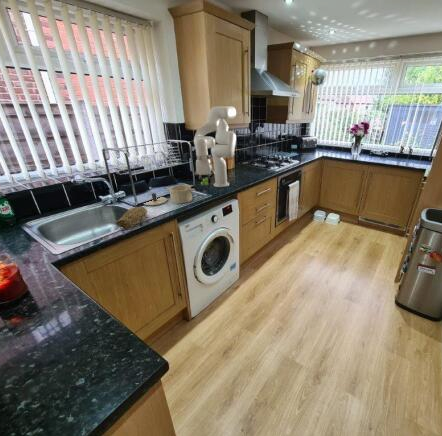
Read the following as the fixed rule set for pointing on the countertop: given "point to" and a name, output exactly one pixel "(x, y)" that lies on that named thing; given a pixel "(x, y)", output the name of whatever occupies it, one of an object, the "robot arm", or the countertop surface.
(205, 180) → the grapes
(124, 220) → the brown hedgehog
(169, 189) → the pot
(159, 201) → the lid
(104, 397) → the countertop surface
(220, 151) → the robot arm
